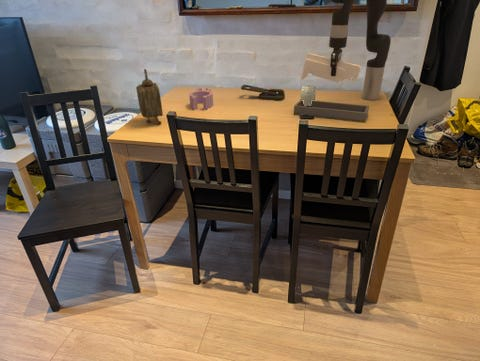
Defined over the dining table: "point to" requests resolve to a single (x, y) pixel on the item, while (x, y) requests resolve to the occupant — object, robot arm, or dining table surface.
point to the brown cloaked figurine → (149, 99)
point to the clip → (201, 98)
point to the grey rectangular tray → (333, 110)
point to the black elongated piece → (266, 93)
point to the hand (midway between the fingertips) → (334, 74)
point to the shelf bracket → (329, 68)
